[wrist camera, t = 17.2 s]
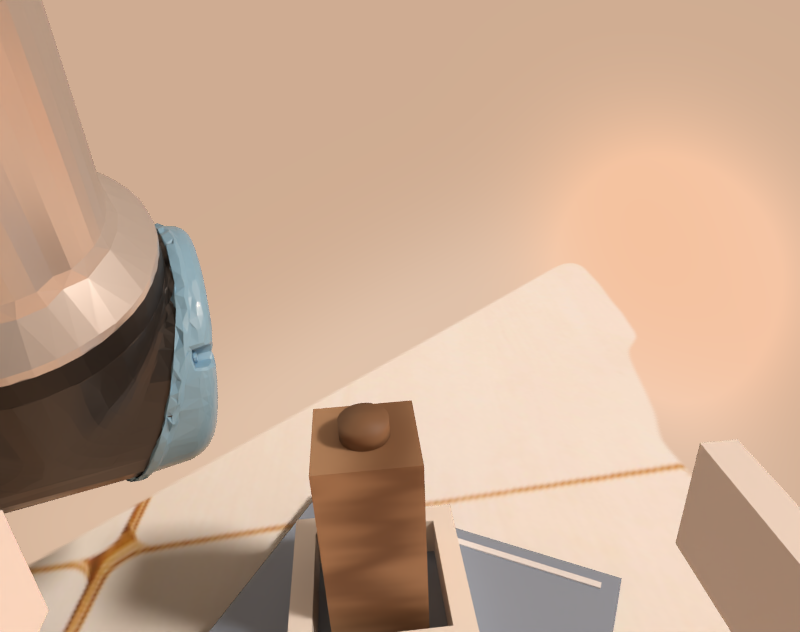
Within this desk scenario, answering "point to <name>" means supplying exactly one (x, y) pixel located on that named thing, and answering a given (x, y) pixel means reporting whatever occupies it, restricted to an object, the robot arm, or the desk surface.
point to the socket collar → (438, 539)
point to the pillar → (370, 516)
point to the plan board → (487, 578)
